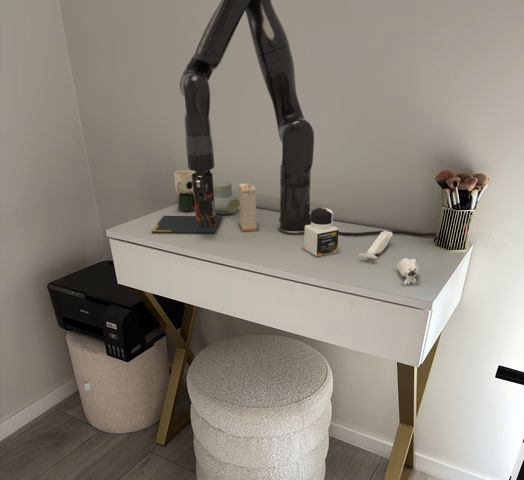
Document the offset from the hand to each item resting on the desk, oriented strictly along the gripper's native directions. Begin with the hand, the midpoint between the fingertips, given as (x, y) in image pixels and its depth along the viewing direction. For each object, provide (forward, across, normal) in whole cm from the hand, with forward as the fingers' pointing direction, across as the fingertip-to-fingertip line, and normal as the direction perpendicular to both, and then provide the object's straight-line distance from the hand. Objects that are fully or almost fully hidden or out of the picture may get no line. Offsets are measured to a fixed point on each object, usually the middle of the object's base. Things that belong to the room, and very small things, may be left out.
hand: (205, 209), depth 159 cm
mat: (+9, +12, +8) cm, 17 cm away
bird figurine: (+10, -27, -56) cm, 63 cm away
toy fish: (+10, -10, -50) cm, 52 cm away
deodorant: (+5, 0, 0) cm, 5 cm away
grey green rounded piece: (+9, +26, -2) cm, 28 cm away
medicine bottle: (+10, -9, -34) cm, 37 cm away
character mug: (+9, +28, +12) cm, 32 cm away
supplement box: (+9, +11, -12) cm, 18 cm away
